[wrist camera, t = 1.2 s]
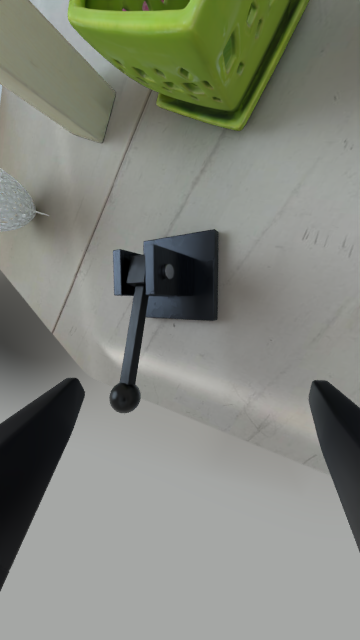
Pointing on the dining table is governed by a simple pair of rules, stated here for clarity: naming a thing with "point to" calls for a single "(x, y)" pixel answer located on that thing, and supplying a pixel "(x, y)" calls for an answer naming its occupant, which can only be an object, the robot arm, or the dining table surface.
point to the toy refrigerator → (51, 72)
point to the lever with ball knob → (132, 341)
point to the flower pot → (193, 49)
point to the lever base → (176, 276)
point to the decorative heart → (26, 206)
